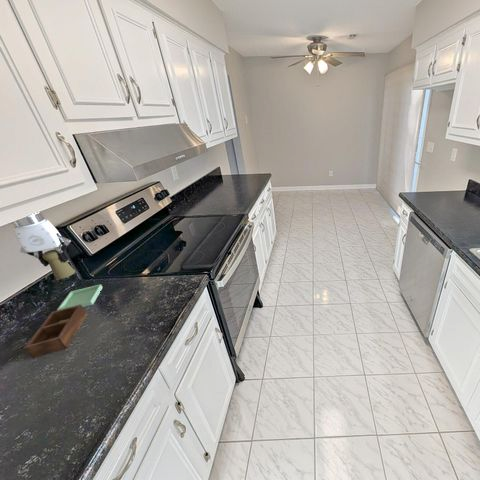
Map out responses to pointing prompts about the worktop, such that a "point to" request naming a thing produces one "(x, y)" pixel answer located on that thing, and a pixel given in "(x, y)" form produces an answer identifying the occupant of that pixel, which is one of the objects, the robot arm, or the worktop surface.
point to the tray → (81, 297)
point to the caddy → (56, 331)
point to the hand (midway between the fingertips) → (57, 262)
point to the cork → (58, 264)
